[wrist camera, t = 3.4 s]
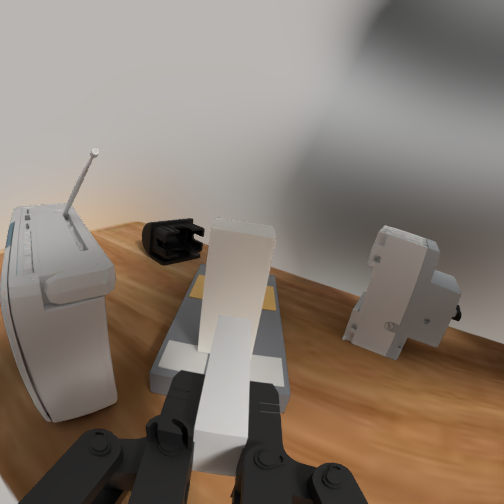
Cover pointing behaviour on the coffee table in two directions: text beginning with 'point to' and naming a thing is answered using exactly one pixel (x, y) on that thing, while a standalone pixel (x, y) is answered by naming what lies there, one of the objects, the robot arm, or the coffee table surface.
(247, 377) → the robot arm
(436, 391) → the coffee table surface
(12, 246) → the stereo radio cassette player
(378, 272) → the circuit breaker
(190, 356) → the grey flat board
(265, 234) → the slider tab
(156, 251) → the end cap
